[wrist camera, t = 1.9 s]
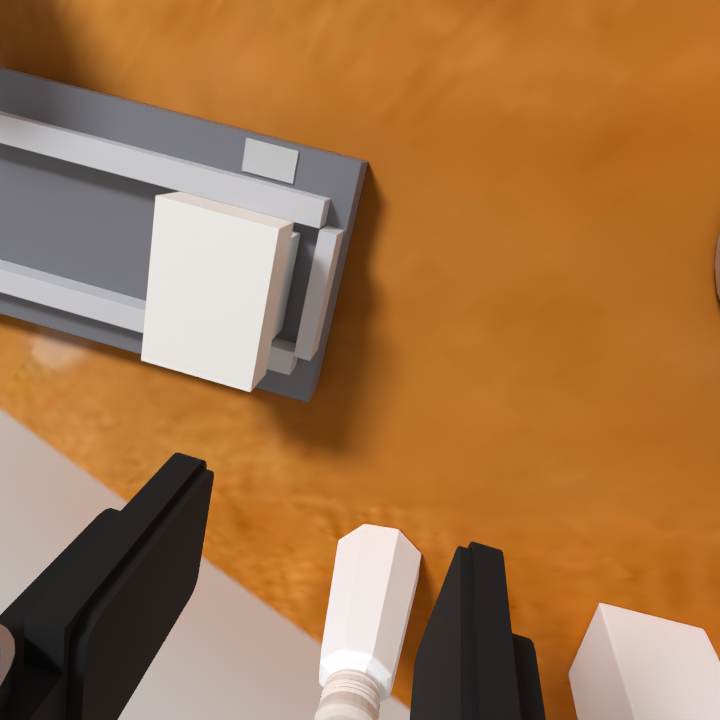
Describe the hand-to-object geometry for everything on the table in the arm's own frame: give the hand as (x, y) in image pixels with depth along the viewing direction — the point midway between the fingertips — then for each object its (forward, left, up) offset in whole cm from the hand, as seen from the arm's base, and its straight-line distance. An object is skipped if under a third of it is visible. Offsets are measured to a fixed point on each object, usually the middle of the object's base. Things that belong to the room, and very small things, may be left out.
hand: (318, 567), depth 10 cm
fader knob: (+7, 0, -17) cm, 19 cm away
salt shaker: (-2, +16, -20) cm, 25 cm away
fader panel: (+17, 0, -19) cm, 25 cm away
